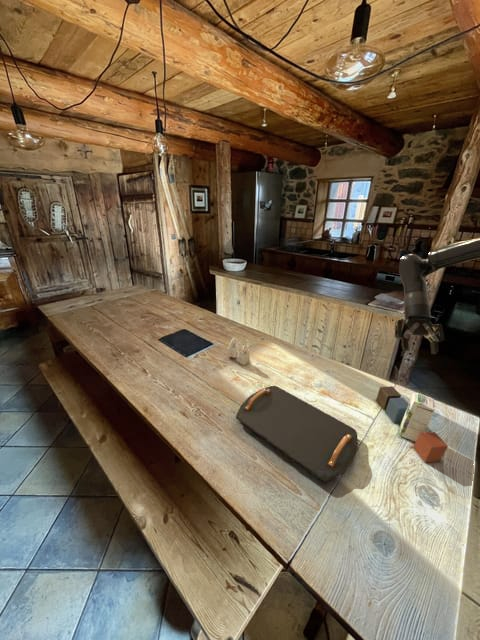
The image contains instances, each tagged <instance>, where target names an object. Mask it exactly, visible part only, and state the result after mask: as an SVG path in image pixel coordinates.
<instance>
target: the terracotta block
mask: <svg viewBox="0 0 480 640" xmlns="http://www.w3.org/2000/svg"><path fill="white" fill-rule="evenodd" d="M448 446H449V445H448V444H447V443H446V442H445V440H443V439H442V438H441V437H440V436H439V434H438V433H437V432H435V431H429V432H424V433H420V434H419V436H418V438H417V441H416V442H414V445H413V450H414V451H415V452H416V453H417V455H419V458H420V459H422V461H423V462H424V463H434V462H435V463H436V462H442V459H443V457H444V455H445V453H446V451H447V449H448Z"/></svg>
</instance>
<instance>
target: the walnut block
mask: <svg viewBox="0 0 480 640" xmlns="http://www.w3.org/2000/svg"><path fill="white" fill-rule="evenodd" d="M390 398H402V395H401V393H400V392H399V391H398V390H397V389H396V388H395V387H394V386H393V385H391V386H380V387H379V390H378V393H377V396H376V398H375V401H376V402H377V404H378V405H379V407H381V409H382V410H383V411H386V408H387V405H388V402H389V399H390Z"/></svg>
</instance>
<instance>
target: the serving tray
mask: <svg viewBox="0 0 480 640" xmlns="http://www.w3.org/2000/svg"><path fill="white" fill-rule="evenodd" d="M235 418H236V420H237V421H239V422H240V423H241V424H243V425H244V426H246V428H248V429H250V430H252V432H254V433H255V434H256V435H258V436H259V437H261V438H263V439H264V440H266V441H267V442H268V443H269V444H270V445H271V446H273V447H274V448H276V449H277V450H279V452H282V453H283V454H285V455H286V456H287V457H288V458H289V459H290V460H292V461H293V462H296V463H297V464H299V465H300V466H301V467H303V468H304V469H306V470H307V471H308V472H310V473H311V474H313V475H314V476H315V477H317V478H318V479H320V480H321V481H322V482H324V483H327V482H328V481H330V480H332V479H334V478H335V477H337V476H340V475H341V474H342V473H344V471H345V470H346V469H348V468H349V467H350V466H351V464H352V462H353V461H354V459H355V457H356V456H357V451H358V445H359V444H358V443H359V442H358V432H357V430H356V429H355V428H354V427H352V426H350V425H349V424H346V422H343V421H341V420H339V419H338V418H336V417H334V416H332V415H331V414H328V413H326V412H325V411H323V410H321V409H319V408H318V407H315V406H313V405H312V404H311V403H308V402H306V401H305V400H303V399H301V398H299V397H298V396H295V395H293V394H292V393H290V392H289V391H286V390H285V389H282V388H281V387H279V386H276V385H270V386H266V387H265V388H262V389H259V390H257V391H256V392H254V393H252V394H250V395H249V396H248V397H247V398H246V399H245V400H244V401H243V403H242V404H241V405H240V407H239V409H238V411H237V413H236V415H235Z"/></svg>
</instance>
